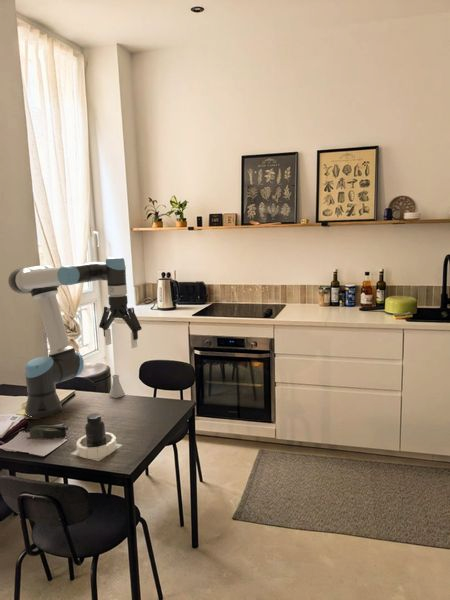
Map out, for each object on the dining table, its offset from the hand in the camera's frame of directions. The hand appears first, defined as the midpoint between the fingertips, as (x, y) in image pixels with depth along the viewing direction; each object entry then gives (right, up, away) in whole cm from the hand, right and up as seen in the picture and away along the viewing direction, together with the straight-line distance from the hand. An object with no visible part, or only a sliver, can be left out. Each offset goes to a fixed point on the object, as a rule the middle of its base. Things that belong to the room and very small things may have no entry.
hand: (121, 346), depth 195 cm
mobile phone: (-26, -35, -13) cm, 45 cm away
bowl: (-3, -35, -25) cm, 43 cm away
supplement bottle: (-3, -34, -25) cm, 43 cm away
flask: (-9, -27, +30) cm, 41 cm away
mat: (-3, -35, -25) cm, 43 cm away
